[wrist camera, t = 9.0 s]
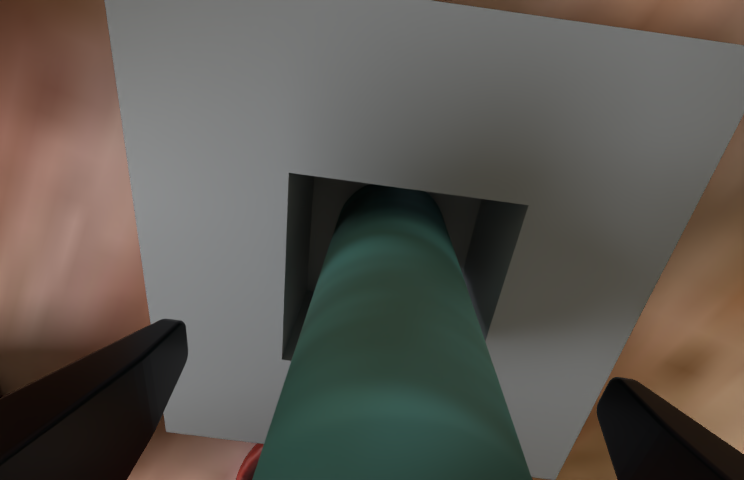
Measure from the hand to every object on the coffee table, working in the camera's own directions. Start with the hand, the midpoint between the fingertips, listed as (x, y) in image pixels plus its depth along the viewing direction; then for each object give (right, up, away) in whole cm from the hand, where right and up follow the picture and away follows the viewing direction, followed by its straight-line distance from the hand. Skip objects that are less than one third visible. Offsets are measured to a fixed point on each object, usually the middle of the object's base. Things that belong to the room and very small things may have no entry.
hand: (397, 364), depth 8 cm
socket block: (0, +3, +7) cm, 8 cm away
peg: (0, +3, +6) cm, 7 cm away
